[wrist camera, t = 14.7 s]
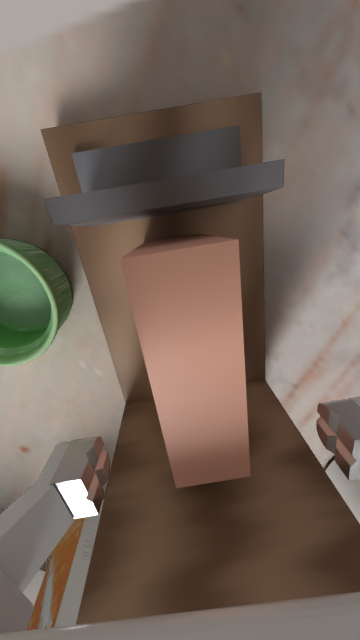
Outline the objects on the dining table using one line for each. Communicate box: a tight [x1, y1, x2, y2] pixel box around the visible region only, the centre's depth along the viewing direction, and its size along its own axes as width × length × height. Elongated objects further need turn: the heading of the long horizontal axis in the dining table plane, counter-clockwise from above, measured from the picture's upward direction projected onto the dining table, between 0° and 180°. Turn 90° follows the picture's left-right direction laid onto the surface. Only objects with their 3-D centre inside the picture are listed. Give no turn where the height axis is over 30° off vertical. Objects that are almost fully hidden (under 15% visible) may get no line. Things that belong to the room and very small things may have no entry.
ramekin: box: [0, 239, 72, 366], centre depth 17 cm, size 9×9×4 cm
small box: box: [26, 499, 104, 631], centre depth 24 cm, size 8×6×13 cm
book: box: [120, 234, 250, 488], centre depth 14 cm, size 4×12×9 cm, turn 9°
